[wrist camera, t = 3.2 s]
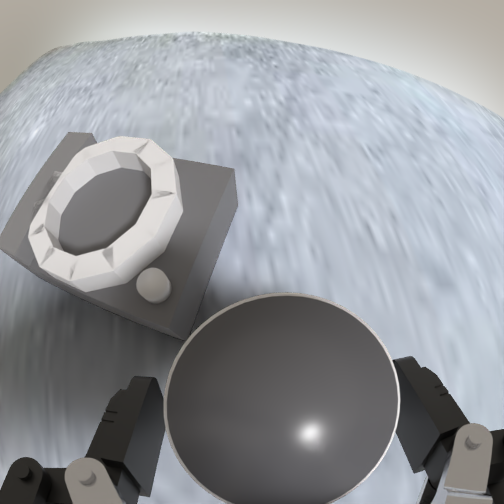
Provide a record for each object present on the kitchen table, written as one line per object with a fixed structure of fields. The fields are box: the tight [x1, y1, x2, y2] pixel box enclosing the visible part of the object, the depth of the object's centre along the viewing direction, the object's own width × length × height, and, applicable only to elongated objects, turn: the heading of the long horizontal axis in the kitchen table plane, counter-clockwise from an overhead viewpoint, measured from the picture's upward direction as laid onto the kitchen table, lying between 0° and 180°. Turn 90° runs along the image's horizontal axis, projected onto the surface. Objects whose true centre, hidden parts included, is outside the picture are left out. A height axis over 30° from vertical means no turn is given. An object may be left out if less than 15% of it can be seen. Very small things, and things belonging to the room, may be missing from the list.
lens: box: [163, 292, 400, 504], centre depth 10 cm, size 5×5×10 cm
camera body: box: [0, 132, 238, 341], centre depth 16 cm, size 12×9×5 cm
